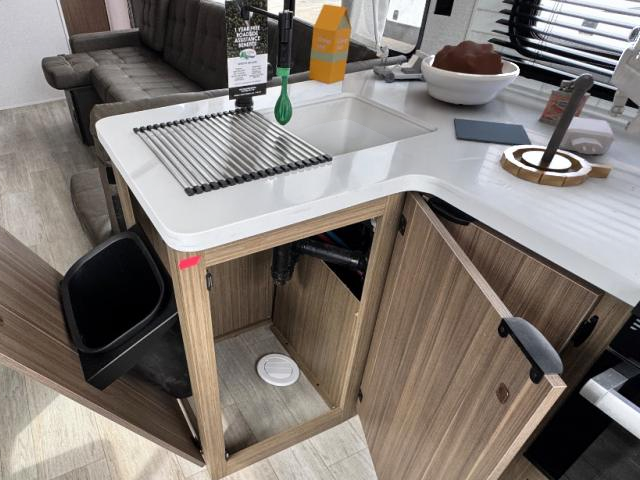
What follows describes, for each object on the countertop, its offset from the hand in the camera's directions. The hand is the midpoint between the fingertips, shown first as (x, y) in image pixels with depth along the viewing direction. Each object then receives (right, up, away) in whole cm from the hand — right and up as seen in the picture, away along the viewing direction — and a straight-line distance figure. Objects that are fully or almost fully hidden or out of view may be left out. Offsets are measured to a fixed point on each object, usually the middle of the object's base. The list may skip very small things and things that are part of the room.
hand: (621, 124), depth 81 cm
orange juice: (-43, +39, +61) cm, 84 cm away
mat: (-11, +8, +24) cm, 28 cm away
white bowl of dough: (-9, +24, +44) cm, 51 cm away
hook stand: (-9, -6, +9) cm, 14 cm away
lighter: (+10, +12, +30) cm, 34 cm away
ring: (-7, -6, +8) cm, 13 cm away
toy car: (-20, +41, +62) cm, 77 cm away
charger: (+5, +1, +17) cm, 17 cm away
